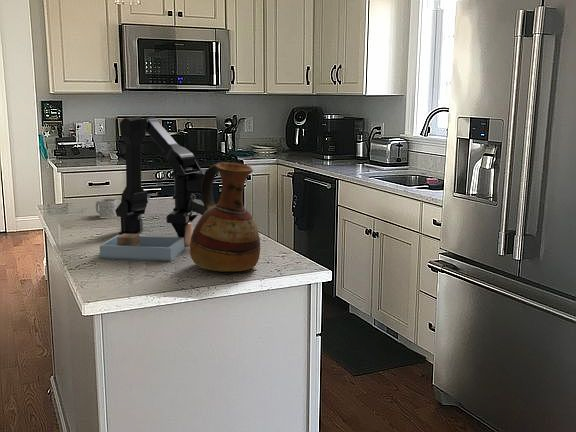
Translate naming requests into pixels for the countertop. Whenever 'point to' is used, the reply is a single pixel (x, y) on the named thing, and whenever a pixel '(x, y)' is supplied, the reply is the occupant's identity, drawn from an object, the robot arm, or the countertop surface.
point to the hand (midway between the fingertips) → (184, 239)
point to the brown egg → (188, 234)
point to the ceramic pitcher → (225, 223)
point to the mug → (106, 207)
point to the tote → (144, 249)
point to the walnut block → (128, 240)
